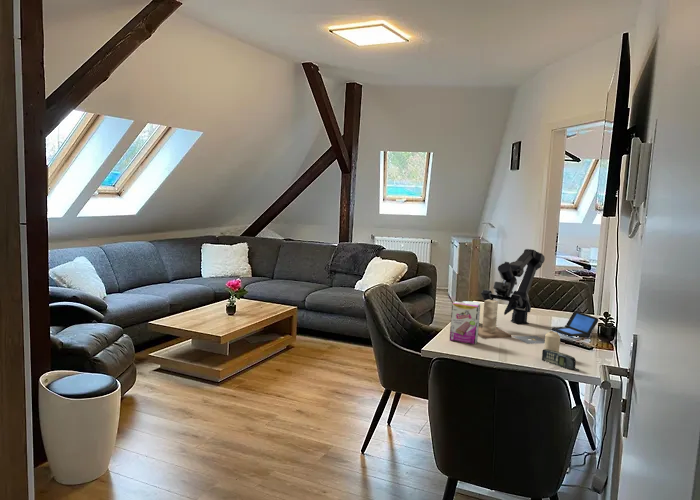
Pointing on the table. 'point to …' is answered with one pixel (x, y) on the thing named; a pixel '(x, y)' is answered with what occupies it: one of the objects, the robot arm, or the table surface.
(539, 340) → the gray mat
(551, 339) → the candle
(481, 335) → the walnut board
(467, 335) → the candy bar box
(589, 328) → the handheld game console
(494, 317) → the birch block
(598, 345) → the table surface
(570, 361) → the mobile phone
